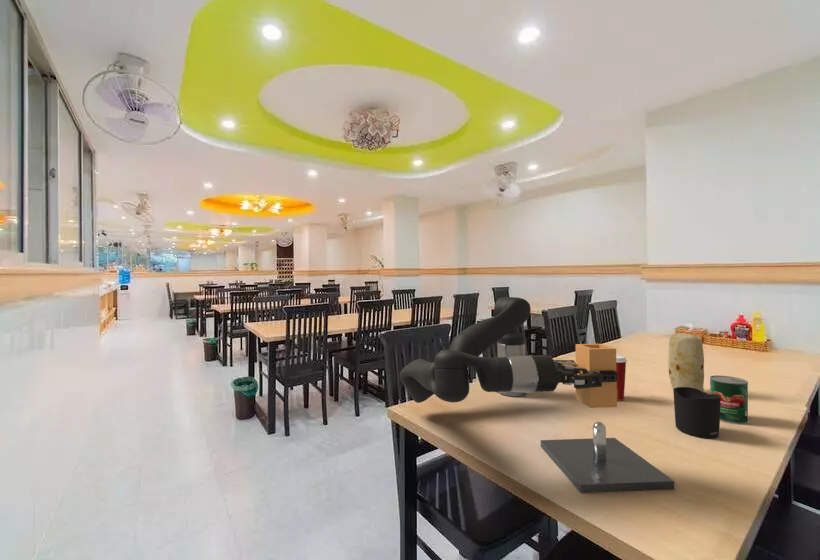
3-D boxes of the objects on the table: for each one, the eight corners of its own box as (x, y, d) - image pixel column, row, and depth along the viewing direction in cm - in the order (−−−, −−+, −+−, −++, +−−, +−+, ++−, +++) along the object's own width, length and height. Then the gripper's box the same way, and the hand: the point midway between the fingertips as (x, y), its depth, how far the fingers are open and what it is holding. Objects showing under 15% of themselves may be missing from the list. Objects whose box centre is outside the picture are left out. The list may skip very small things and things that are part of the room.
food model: (706, 393, 118) (705, 334, 118) (701, 398, 114) (701, 336, 114) (671, 387, 126) (670, 331, 126) (665, 391, 122) (665, 333, 121)
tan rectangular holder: (589, 407, 72) (589, 349, 72) (576, 398, 77) (575, 344, 77) (616, 407, 72) (616, 348, 72) (601, 397, 78) (600, 343, 78)
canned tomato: (717, 422, 96) (717, 381, 95) (704, 411, 103) (704, 374, 103) (755, 426, 93) (754, 384, 93) (739, 415, 100) (738, 376, 100)
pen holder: (681, 436, 87) (680, 396, 87) (668, 421, 96) (668, 385, 96) (728, 442, 84) (728, 400, 84) (711, 426, 93) (710, 388, 93)
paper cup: (620, 394, 119) (619, 353, 119) (632, 402, 111) (631, 358, 111) (596, 394, 120) (595, 353, 119) (606, 402, 112) (605, 358, 112)
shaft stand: (580, 492, 65) (580, 443, 65) (540, 446, 83) (540, 407, 83) (674, 489, 66) (673, 440, 66) (614, 443, 84) (614, 405, 84)
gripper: (517, 381, 81) (589, 379, 82) (543, 403, 67) (629, 401, 68) (517, 349, 81) (589, 347, 82) (542, 364, 67) (629, 362, 68)
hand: (607, 371), depth 75 cm, fingers closed on tan rectangular holder, 5 cm apart
